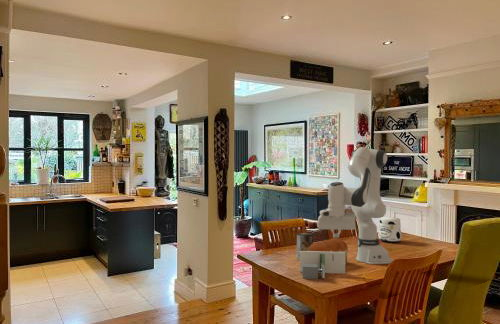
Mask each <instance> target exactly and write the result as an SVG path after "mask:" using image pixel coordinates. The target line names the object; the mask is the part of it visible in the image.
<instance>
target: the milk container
mask: <svg viewBox="0 0 500 324" xmlns="http://www.w3.org/2000/svg"><path fill="white" fill-rule="evenodd" d="M401 227H402V226H401V218H399V217H392V216H383V217H382V218H379V229H378V231H377V238H378V239H379V240H381V241H382V242H387V243H399V242H400V241H402V230H401Z"/></svg>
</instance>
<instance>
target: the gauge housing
mask: <svg viewBox="0 0 500 324" xmlns="http://www.w3.org/2000/svg"><path fill="white" fill-rule="evenodd" d="M320 254H322V263H323V264H324V266H325V274H343V275H345V274H346V264H345V252H322V251H300V259H299V273H301V276H302V279H304V280H305V279H306V280H307V279H308V280H318V277H319V275H318V274H321V273H320V272H318V269H320ZM302 269H303V271H302Z"/></svg>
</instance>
